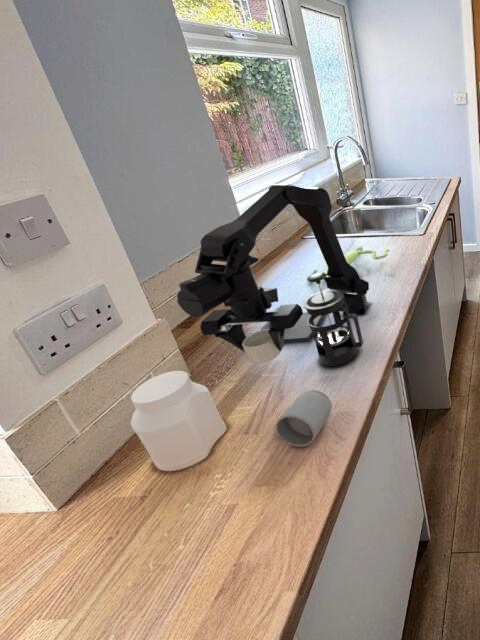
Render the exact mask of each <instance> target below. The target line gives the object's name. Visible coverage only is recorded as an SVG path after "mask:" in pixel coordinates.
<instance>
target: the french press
mask: <svg viewBox="0 0 480 640" xmlns="http://www.w3.org/2000/svg"><path fill="white" fill-rule="evenodd" d="M312 274H313V273H312ZM312 274H311V275H308V276H307V278H306V281H308V282H309V283H315V284H316V285H318V288H319V291H317V292H314V293H312V294H310V295H308V296H307V297H305V298H304V299H303V301H302V308H303V309H305V310H306V313H307V312H308V314H310V315H311V316H310V317H309V319H308V324H309V327H310V329H311V330H312V334H313V336H312V338H313V340H314V343H315V347H316V352H317V356H318V362H319V365H320V366H321V367H323V368H325V369H333V370H334V369H338V368H342V367H345V366H348V365H349V364H351V363H352V362H354V361H355V360H356V359H357V358H358V356H359V353H360V349H359V348H361V347H362V346H363V344H364V339H363V335H362V331H361V327H360V322H359V318H358V315H356V313H353V314H348V310H347V309H346V308H344V307H342V306H343V297H344V294H343V292H342V291H340V290H335V289H329V288H328V289H323V290H322V287H321V284H322V282H321V281H323V280H324V278H326V277H327V274H326V273H322V272H317V273H316V274H313V275H312ZM341 312H342V313H343V312H345V313H347V315H346V316H343V318H342V316H341ZM331 314H332V317H333V321H334V323H332V322H331V318H330V315H331ZM323 315H326V316H327V320H328V323H329V325H324V326H319V327H316V326H315V325H314V321H313V320H314V319H315V318H317V317H318V316H323ZM350 319H352V320H353V322H354V327H355V330H356V334H357V339H358V341H357V340H356V338H355V336H354V331H353V328H352V327H353V326H352V324H351V320H350ZM345 324H346V325H345ZM339 348H350V349H348V350H347V351H345V352H343V353H340V354H338V355H335V353H334V350H336V349H339Z"/></svg>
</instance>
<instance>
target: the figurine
mask: <svg viewBox="0 0 480 640" xmlns="http://www.w3.org/2000/svg"><path fill="white" fill-rule="evenodd" d="M363 249H364V248H363V246H358V247H357V248H356V249H355V250H353V251H348V252H347V253H346V254H344V256H345V259H346V261H347V263H348V264H350V265H352V263H354V262H355V260H356V259H357V257H359V256H360V255H366V254H372V258H373V260H381V259H384V258H386V257H387V256H388V255H389V252H390V249H389V248H386V249H384V250H383V253H384V255H379V256H377V252H376V251H375V250H371V249H368V250H363ZM327 272H328V268H326V269H325V270H324V271H322V272H321V273H326V274H327ZM316 273H318V270H317V269H316V270H313V272H312V273H311V275H313V274H316Z"/></svg>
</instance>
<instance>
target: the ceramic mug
mask: <svg viewBox="0 0 480 640" xmlns="http://www.w3.org/2000/svg"><path fill="white" fill-rule="evenodd" d="M332 410H333V403H332V401H331V399H330V398H329V397H328V396H327V395H326V394H325V393H323V392H321V391H319V390H316V389H314V390H313V389H310V390H306V391H304V392H302V393H300V394H299V396H297V397H296V398H295V399H294V401H293V402H292V403H291V404H290V406H289V407H288V408H286V410H285V411H284V412H283V413H282V414H281V416H279V418H278V419H277V421H276V423H275V426H274V427H273V430H272V431H273V433H274V434H275V435H276V437H278V438H280V439H281V440H282V441H284V442H285V443H287V444H288V445H291V446H296V447H307V446H310V445H311V444H312V443H313V442H314V441H315V439H316V437H318V434H319V433H320V432H321V430H322V428H323V427H324V425H325V422H327V420H328V418H329V417H330V415H331V412H332Z"/></svg>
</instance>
